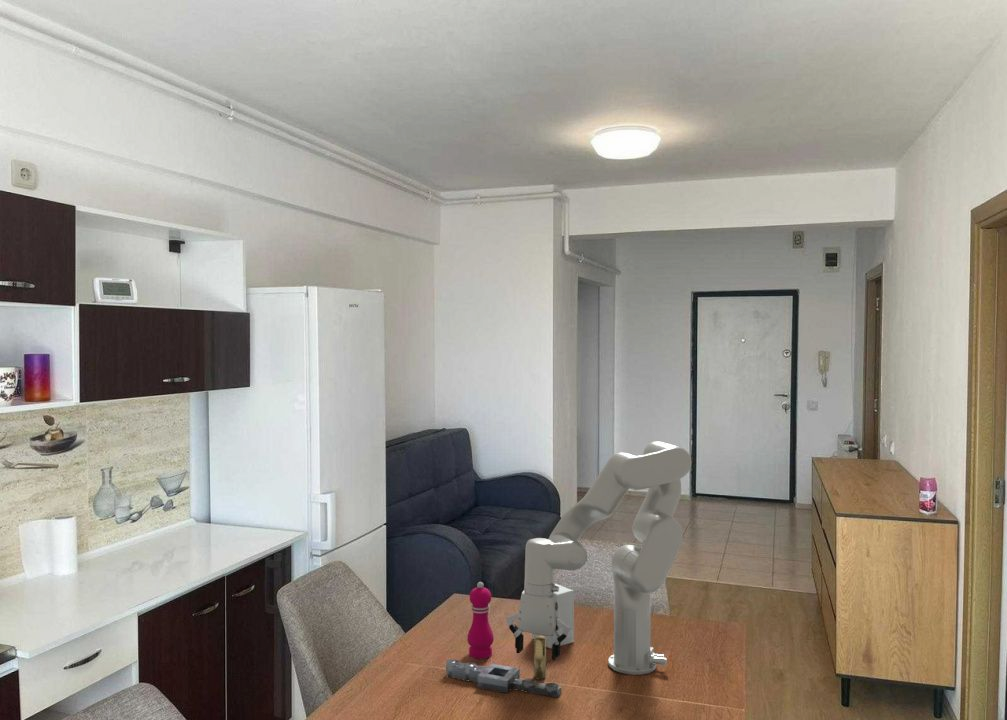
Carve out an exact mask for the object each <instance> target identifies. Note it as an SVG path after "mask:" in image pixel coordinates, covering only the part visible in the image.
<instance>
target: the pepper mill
mask: <svg viewBox="0 0 1007 720" xmlns="http://www.w3.org/2000/svg"><path fill="white" fill-rule="evenodd" d="M491 601H492V593H491V591H490V590H489V589H488V588H486V587H484V583H483V582H482V581H479V582H477V584H476V587H474V588H472V589H471V591H470V593H469V602H470V603H471V610H470V611H471V612H472V622H471V624H470V625H471V626H470V628H469V630H468V633H467V637H466V641H467V643H468V645H469V646H470V647H469V648H468V654H469V657H471V658H472V659H476V658H477V659H476V660H481V659H480V658H485V659H487V658H490V657H492V655H493V647H492V644H493V642H494V640H495V639H494V631H493V630H492V627H491V625H490V622H489V617H488V615H489V612H490V603H491Z"/></svg>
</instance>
